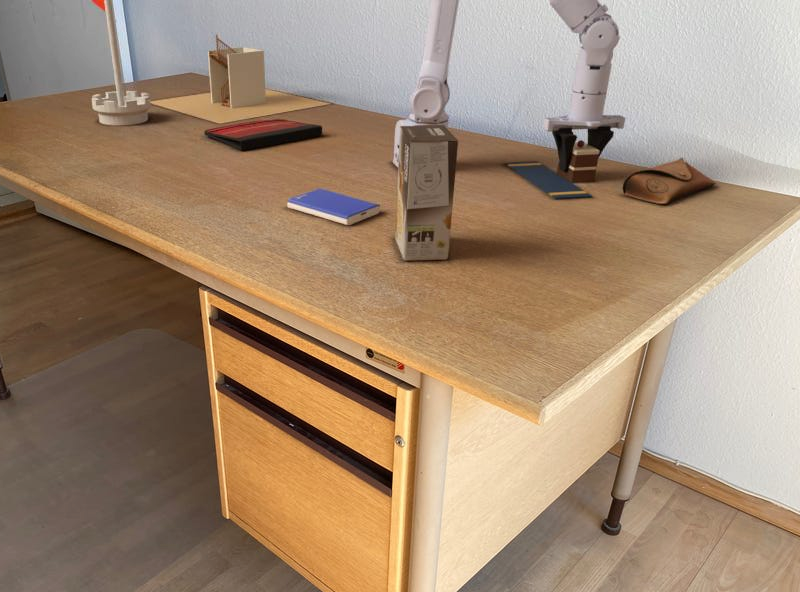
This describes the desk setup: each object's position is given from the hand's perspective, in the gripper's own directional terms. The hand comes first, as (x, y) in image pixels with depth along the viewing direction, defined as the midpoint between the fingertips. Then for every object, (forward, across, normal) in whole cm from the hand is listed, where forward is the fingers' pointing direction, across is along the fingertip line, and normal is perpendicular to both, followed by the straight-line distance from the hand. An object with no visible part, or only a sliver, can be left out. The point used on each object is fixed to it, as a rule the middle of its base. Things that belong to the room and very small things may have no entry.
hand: (576, 169), depth 134 cm
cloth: (+1, -6, 0) cm, 6 cm away
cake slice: (+1, 0, 0) cm, 1 cm away
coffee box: (+2, -38, -29) cm, 48 cm away
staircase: (+1, -55, +77) cm, 95 cm away
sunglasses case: (+2, +13, -10) cm, 16 cm away
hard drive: (+2, -47, -11) cm, 48 cm away
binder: (+1, -53, +40) cm, 66 cm away
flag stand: (+1, -83, +61) cm, 103 cm away
